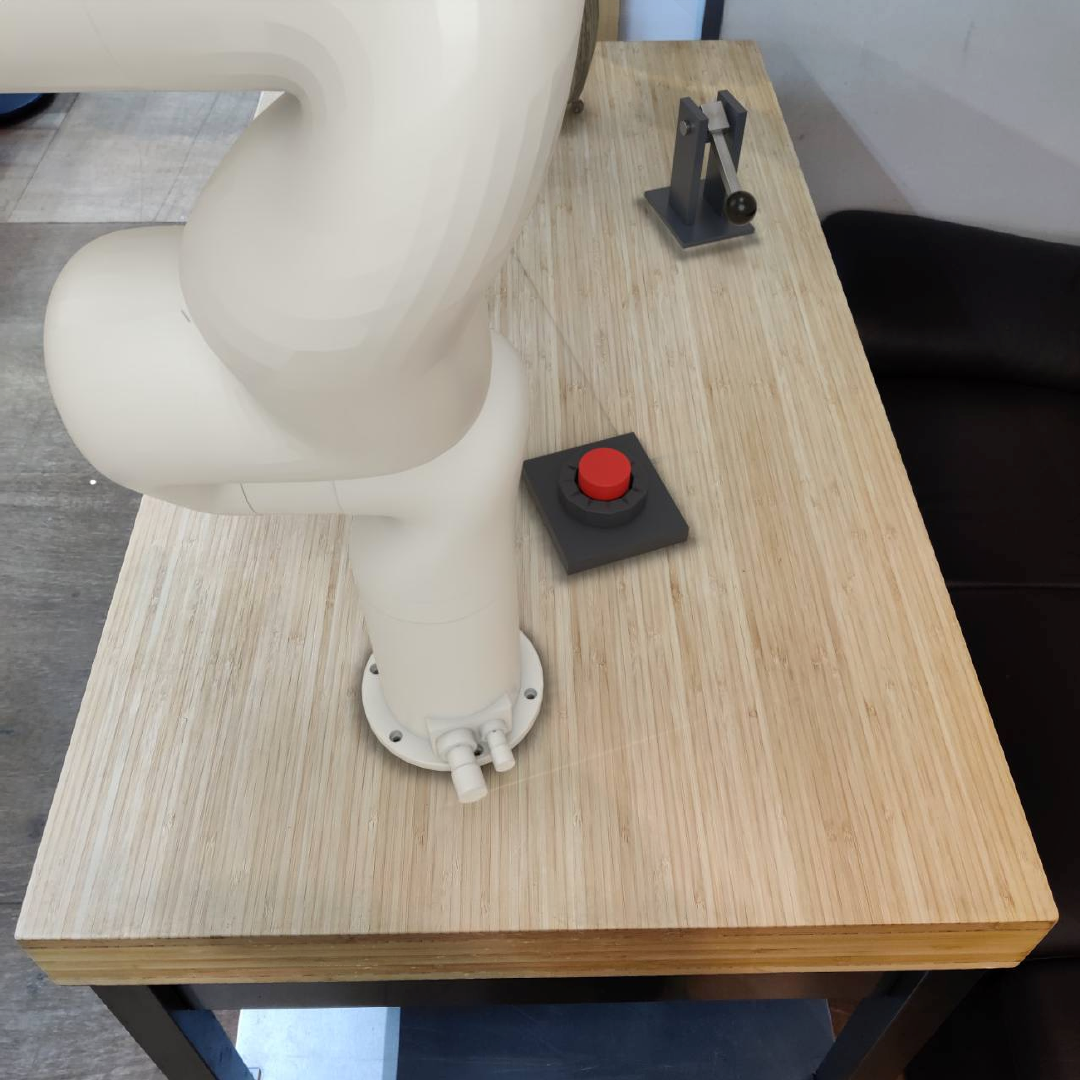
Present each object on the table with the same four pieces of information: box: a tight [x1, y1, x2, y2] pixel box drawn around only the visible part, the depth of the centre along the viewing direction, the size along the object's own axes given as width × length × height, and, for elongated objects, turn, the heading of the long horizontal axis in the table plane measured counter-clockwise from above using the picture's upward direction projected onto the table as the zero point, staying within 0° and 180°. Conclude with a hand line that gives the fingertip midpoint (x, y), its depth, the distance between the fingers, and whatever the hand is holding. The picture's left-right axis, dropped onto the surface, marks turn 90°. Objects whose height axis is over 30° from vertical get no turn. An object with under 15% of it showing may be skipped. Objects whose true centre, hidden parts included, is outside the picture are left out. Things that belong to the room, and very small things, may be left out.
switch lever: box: [698, 100, 758, 226], centre depth 94 cm, size 12×3×3 cm, turn 20°
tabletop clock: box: [567, 0, 600, 114], centre depth 106 cm, size 14×9×25 cm, turn 80°
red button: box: [578, 448, 631, 501], centre depth 76 cm, size 4×4×2 cm
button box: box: [521, 431, 690, 576], centre depth 78 cm, size 11×10×4 cm
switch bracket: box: [643, 89, 756, 249], centre depth 98 cm, size 10×8×13 cm
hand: (441, 85), depth 67 cm, fingers closed
